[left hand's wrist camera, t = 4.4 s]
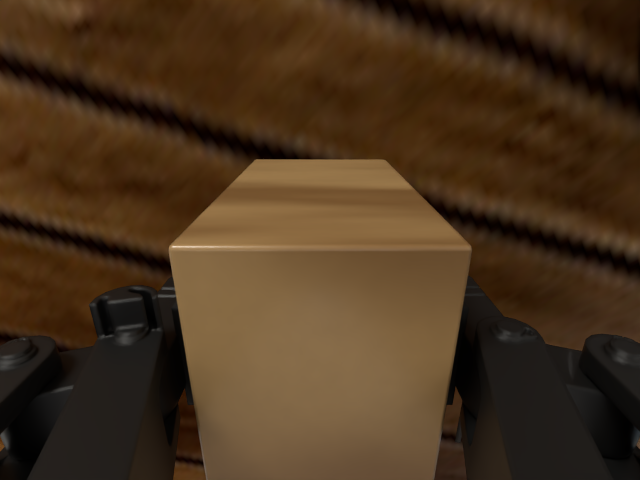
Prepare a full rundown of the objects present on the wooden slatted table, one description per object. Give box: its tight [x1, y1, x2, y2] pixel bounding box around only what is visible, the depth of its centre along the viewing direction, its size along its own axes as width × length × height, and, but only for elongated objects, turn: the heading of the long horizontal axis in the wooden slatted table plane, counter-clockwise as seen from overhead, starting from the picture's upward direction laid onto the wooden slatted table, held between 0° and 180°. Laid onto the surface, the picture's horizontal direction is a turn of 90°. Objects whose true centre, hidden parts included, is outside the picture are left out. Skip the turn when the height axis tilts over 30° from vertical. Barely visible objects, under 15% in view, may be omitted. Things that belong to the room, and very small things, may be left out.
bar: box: [169, 160, 472, 480], centre depth 14 cm, size 22×5×8 cm, turn 0°
